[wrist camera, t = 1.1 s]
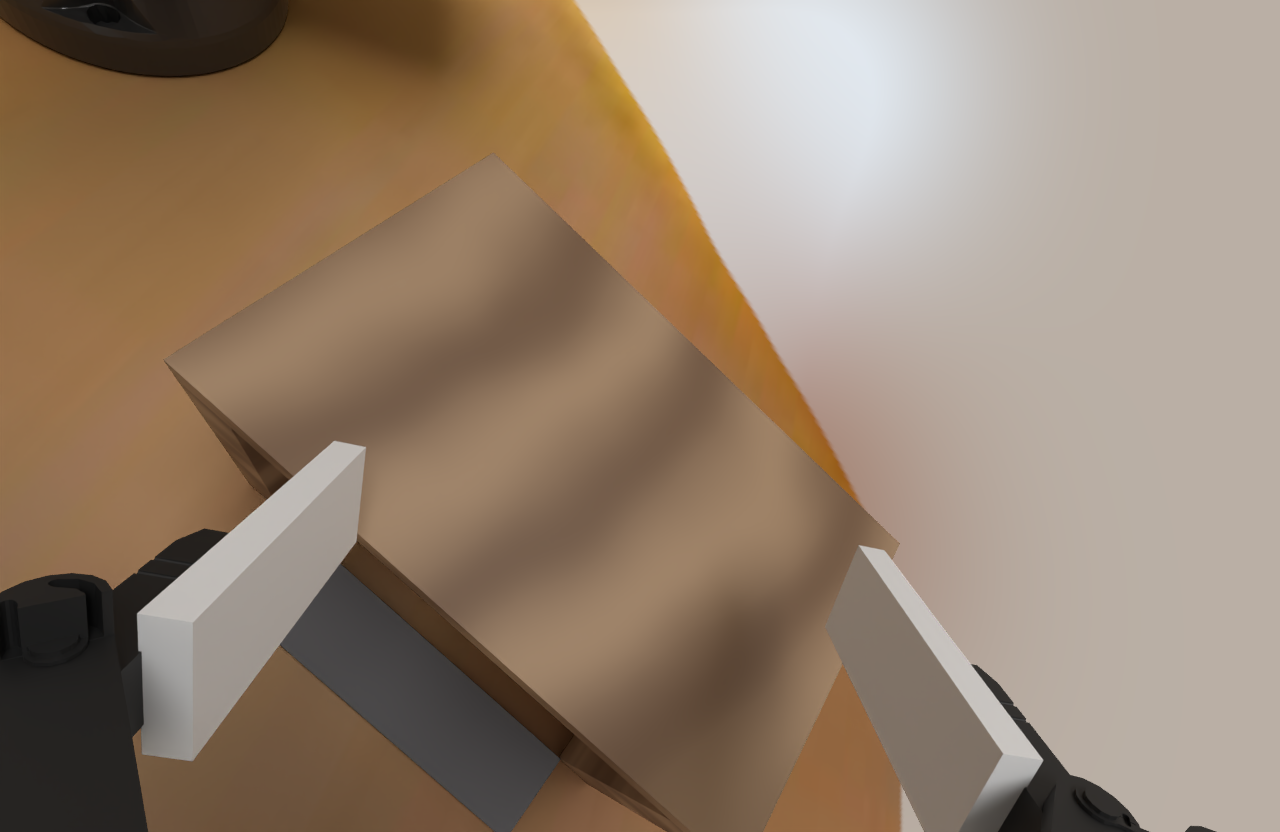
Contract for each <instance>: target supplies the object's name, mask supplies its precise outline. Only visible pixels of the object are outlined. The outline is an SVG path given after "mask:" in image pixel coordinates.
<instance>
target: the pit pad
mask: <svg viewBox="0 0 1280 832" xmlns="http://www.w3.org/2000/svg"><path fill="white" fill-rule="evenodd" d="M280 645H281V646H282V647H283V648H284V649H285V650H286V651H288V652H289V653H290V654H291V655H292V656H293V657H295V658H296V659H297V660H298V661H299V662H300V663H301V664H303V665H304V666H305V667H306V668H307V669H308V670H309V671H311V672H312V673H313V674H314V675H315V676H316V677H318V678H319V679H320V680H321V681H322V682H323V683H324V684H326V685H327V686H328V687H329V688H330V689H331V690H332V691H334V692H335V693H336V694H337V695H338V696H339V697H341V698H342V699H343V700H344V701H345V702H346V703H347V704H349V705H350V706H351V707H352V708H353V709H354V710H355V711H357V712H358V713H359V714H360V715H361V716H362V717H364V718H365V719H366V720H367V721H368V722H369V723H370V724H372V725H373V726H374V727H375V728H376V729H377V730H378V731H380V732H381V733H382V734H383V735H384V736H385V737H387V738H388V739H389V740H390V741H391V742H392V743H393V744H395V745H396V746H397V747H398V748H399V749H400V750H401V751H403V752H404V753H405V754H406V755H407V756H408V757H410V758H411V759H412V760H413V761H414V762H415V763H416V764H418V765H419V766H420V767H421V768H422V769H423V770H424V771H426V772H427V773H428V774H429V775H430V776H431V777H433V778H434V779H435V780H436V781H437V782H438V783H439V784H441V785H442V786H443V787H444V788H445V789H446V790H447V791H449V792H450V793H451V794H452V795H453V796H454V797H456V798H457V799H458V800H459V801H460V802H461V803H462V804H464V805H465V806H466V807H467V808H468V809H469V810H470V811H472V812H473V813H474V814H475V815H476V816H477V817H479V818H480V819H481V820H482V821H483V822H484V823H485V824H487V825H488V826H489V827H490V828H491V829H492V830H493V831H495V832H511V831H512V830H513V828H514V827H515V825H516V824H517V822H518V821H519V819H520V818H521V816H522V815H523V814H524V812H525V811H526V809H527V808H528V806H529V805H530V803H531V802H532V800H533V799H534V797H535V796H536V795H537V793H538V792H539V790H540V789H541V787H542V786H543V784H544V783H545V781H546V780H547V778H548V777H549V775H550V774H551V773H552V771H553V770H554V768H555V767H556V765H557V764H558V762H559V761H560V758H559V757H558V756H556V755H555V754H554V753H553V752H552V751H551V750H550V749H549V748H547V747H546V746H545V745H544V744H543V743H542V742H541V741H540V740H538V739H537V738H536V737H535V736H534V735H533V734H532V733H531V732H529V731H528V730H527V729H526V728H525V727H524V726H523V725H522V724H520V723H519V722H518V721H517V720H516V719H515V718H514V717H512V716H511V715H510V714H509V713H508V712H507V711H506V710H505V709H503V708H502V707H501V706H500V705H499V704H498V703H497V702H496V701H494V700H493V699H492V698H491V697H490V696H489V695H488V694H487V693H485V692H484V691H483V690H482V689H481V688H480V687H479V686H478V685H476V684H475V683H474V682H473V681H472V680H471V679H470V678H469V677H467V676H466V675H465V674H464V673H463V672H462V671H461V670H460V669H458V668H457V667H456V666H455V665H454V664H453V663H452V662H451V661H449V660H448V659H447V658H446V657H445V656H444V655H443V654H442V653H440V652H439V651H438V650H437V649H436V648H435V647H434V646H432V645H431V644H430V643H429V642H428V641H427V640H426V639H425V638H423V637H422V636H421V635H420V634H419V633H418V632H417V631H416V630H414V629H413V628H412V627H411V626H410V625H409V624H408V623H407V622H405V621H404V620H403V619H402V618H401V617H400V616H399V615H398V614H396V613H395V612H394V611H393V610H392V609H391V608H390V607H389V606H387V605H386V604H385V603H384V602H383V601H382V600H381V599H380V598H378V597H377V596H376V595H375V594H374V593H373V592H372V591H371V590H369V589H368V588H367V587H366V586H365V585H364V584H363V583H362V582H360V581H359V580H358V579H357V578H356V577H355V576H354V575H352V574H351V573H350V572H349V571H348V570H347V569H346V568H345V567H343V566H342V565H341V564H339V566H338V567H337V568H336V570H335V571H334V572H333V574H332V575H331V576H330V578H329V579H328V580H327V582H326V583H325V585H324V586H323V587H322V589H321V590H320V591H319V593H318V594H317V595H316V597H315V598H314V599H313V601H312V602H311V603H310V605H309V606H308V607H307V609H306V610H305V611H304V613H303V614H302V615H301V617H300V618H299V619H298V621H297V622H296V623H295V625H294V626H293V627H292V629H291V630H290V631H289V633H288V634H287V635H286V637H285V638H284V639H283V641H282V642H281V643H280Z"/></svg>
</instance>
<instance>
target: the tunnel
mask: <svg viewBox="0 0 1280 832" xmlns="http://www.w3.org/2000/svg"><path fill="white" fill-rule="evenodd" d="M164 361H165V363H166V364H167V366H168V367H169V369H170V370H171V371H172V373H173V374H174V376H175V377H176V379H177V380H178V382H179V383H180V384H181V386H182V387H183V389H184V390H185V392H186V393H187V394H188V396H189V397H190V399H191V400H192V402H193V403H194V405H195V406H196V407H197V409H198V410H199V412H200V413H201V415H202V416H203V417H204V419H205V420H206V422H207V423H208V425H209V426H210V428H211V429H212V430H213V432H214V433H215V435H216V436H217V438H218V439H219V440H220V442H221V443H222V445H223V446H224V448H225V449H226V451H227V452H228V453H229V455H230V456H231V458H232V459H233V461H234V462H235V464H236V465H237V466H238V468H239V469H240V471H241V472H242V474H243V475H244V476H245V478H246V479H247V481H248V482H249V484H250V485H251V486H252V487H254V488H255V489H256V490H257V491H258V492H259V493H260V494H261V495H263V496H264V497H265V498H266V499H268V498H270V497H271V496H272V495H273V494H274V493H275V492H276V491H278V490H279V489H280V488H281V487H282V486H283V485H284V484H286V483H287V482H288V481H289V480H290V479H291V478H292V477H294V476H295V475H296V474H297V473H298V472H299V471H300V470H302V469H303V468H304V467H305V466H306V465H307V464H308V463H310V462H311V461H312V460H313V459H314V458H315V457H316V456H318V455H319V454H320V453H321V452H322V451H323V450H324V449H325V448H327V447H328V446H329V445H330V444H331V443H332V442H333V441H338V442H343V443H348V444H353V445H358V446H363V447H366V452H365V462H364V472H363V482H362V492H361V501H360V511H359V521H358V531H357V541H358V542H359V543H360V544H361V545H363V546H364V547H365V548H366V549H367V550H368V551H369V552H370V553H372V554H373V555H374V556H375V557H376V558H377V559H378V560H379V561H381V562H382V563H383V564H384V565H385V566H386V567H387V568H388V569H389V570H391V571H392V572H393V573H394V574H395V575H396V576H397V577H398V578H400V579H401V580H402V581H403V582H404V583H405V584H406V585H407V586H409V587H410V588H411V589H412V590H413V591H414V592H415V593H416V594H417V595H419V596H420V597H421V598H422V599H423V600H424V601H425V602H426V603H428V604H429V605H430V606H431V607H432V608H433V609H434V610H435V611H437V612H438V613H439V614H440V615H441V616H442V617H443V618H444V619H445V620H447V621H448V622H449V623H450V624H451V625H452V626H453V627H454V628H456V629H457V630H458V631H459V632H460V633H461V634H462V635H463V636H465V637H466V638H467V639H468V640H469V641H470V642H471V643H472V644H473V645H475V646H476V647H477V648H478V649H479V650H480V651H481V652H482V653H484V654H485V655H486V656H487V657H488V658H489V659H490V660H491V661H493V662H494V663H495V664H496V665H497V666H498V667H499V668H500V669H502V670H503V671H504V672H505V673H506V674H507V675H508V676H509V677H510V678H512V679H513V680H514V681H515V682H516V683H517V684H518V685H519V686H521V687H522V688H523V689H524V690H525V691H526V692H527V693H528V694H530V695H531V696H532V697H533V698H534V699H535V700H536V701H537V702H538V703H540V704H541V705H542V706H543V707H544V708H545V709H546V710H547V711H549V712H550V713H551V714H552V715H553V716H554V717H555V718H556V719H558V720H559V721H560V722H561V723H562V724H563V725H564V726H565V727H566V728H568V729H569V730H570V731H571V732H572V733H573V734H574V736H573V737H572V739H571V740H570V742H569V743H568V745H567V746H566V748H565V749H564V751H563V752H562V753H561V755H560V756H559V758H560V760H561V761H562V762H564V763H565V764H566V765H567V766H568V767H569V768H570V769H571V770H573V771H574V772H575V773H576V774H577V775H578V776H579V777H580V778H582V779H583V780H584V781H585V782H586V783H587V784H588V785H590V786H592V787H593V788H595V789H597V790H598V791H600V792H602V793H603V794H605V795H607V796H608V797H610V798H612V799H613V800H615V801H617V802H618V803H620V804H622V805H623V806H625V807H627V808H628V809H630V810H632V811H633V812H635V813H637V814H638V815H640V816H642V817H643V818H645V819H647V820H648V821H650V822H652V823H653V824H655V825H657V826H658V827H660V828H662V829H663V830H665V831H667V832H763V831H764V828H765V826H766V824H767V822H768V820H769V818H770V816H771V814H772V812H773V810H774V807H775V805H776V803H777V801H778V799H779V797H780V795H781V793H782V791H783V788H784V786H785V784H786V782H787V780H788V778H789V776H790V774H791V772H792V769H793V767H794V765H795V763H796V761H797V759H798V757H799V755H800V753H801V751H802V748H803V746H804V744H805V742H806V740H807V738H808V736H809V734H810V732H811V729H812V727H813V725H814V723H815V721H816V719H817V717H818V715H819V713H820V710H821V708H822V706H823V704H824V702H825V700H826V698H827V696H828V694H829V692H830V689H831V687H832V685H833V683H834V681H835V679H836V677H837V675H838V673H839V670H840V668H841V666H842V664H843V663H842V661H841V659H840V657H839V655H838V653H837V651H836V649H835V647H834V645H833V642H832V640H831V638H830V636H829V634H828V632H827V630H826V628H825V625H826V623H827V621H828V618H829V616H830V613H831V611H832V608H833V606H834V604H835V601H836V599H837V596H838V594H839V591H840V589H841V587H842V584H843V582H844V579H845V577H846V574H847V572H848V570H849V567H850V565H851V562H852V560H853V557H854V555H855V553H856V550H857V548H858V545H860V546H865V547H870V548H875V549H880V550H885V552H886V553H887V554H888V556H889V557H890V558H891V559H893V557H894V555H895V552H896V550H897V548H898V546H899V544H900V543H899V542H897V540H895V539H894V538H893V537H892V536H891V535H890V534H889V533H888V532H887V531H886V530H885V529H884V528H883V527H882V526H881V525H880V524H879V523H877V521H876V520H874V518H873V517H872V516H871V515H870V514H868V513H867V512H866V511H865V510H864V509H863V508H862V507H861V506H860V505H859V504H858V503H857V502H856V501H855V500H854V499H853V498H852V497H851V496H850V495H849V494H848V493H847V492H846V491H845V490H844V489H842V488H841V487H840V486H839V485H838V484H837V483H836V482H835V481H834V480H833V479H832V478H831V477H830V476H829V475H828V474H827V473H826V472H825V471H824V470H823V469H822V468H821V467H820V466H819V465H818V464H817V463H815V462H814V461H813V460H812V459H811V458H810V457H809V456H808V455H807V454H806V453H805V452H804V451H803V450H802V449H801V448H800V447H799V446H798V445H797V444H796V443H795V442H794V441H793V440H792V439H791V438H790V437H788V436H787V435H786V434H785V433H784V432H783V431H782V430H781V429H780V428H779V427H778V426H777V425H776V424H775V423H774V422H773V421H772V420H771V419H770V418H769V417H768V416H767V415H766V414H765V413H764V412H762V411H761V410H760V409H759V408H758V407H757V406H756V405H755V404H754V403H753V402H752V401H751V400H750V399H749V398H748V397H747V396H746V395H745V394H744V393H743V392H742V391H741V390H740V389H739V388H738V387H737V386H735V385H734V384H733V383H732V382H731V381H730V380H729V379H728V378H727V377H726V376H725V375H724V374H723V373H722V372H721V371H720V370H719V369H718V368H717V367H716V366H715V365H714V364H713V363H712V362H711V361H709V360H708V359H707V358H706V357H705V356H704V355H703V354H702V353H701V352H700V351H699V350H698V349H697V348H696V347H695V346H694V345H693V344H692V343H691V342H690V341H689V340H688V339H687V338H686V337H685V336H684V335H682V334H681V333H680V332H679V331H678V330H677V329H676V328H675V327H674V326H673V325H672V324H671V323H670V322H669V321H668V320H667V319H666V318H665V317H664V316H663V315H662V314H661V313H660V312H659V311H658V310H657V309H655V308H654V307H653V306H652V305H651V304H650V303H649V302H648V301H647V300H646V299H645V298H644V297H643V296H642V295H641V294H640V293H639V292H638V291H637V290H636V289H635V288H634V287H633V286H632V285H631V284H629V283H628V282H627V281H626V280H625V279H624V278H623V277H622V276H621V275H620V274H619V273H618V272H617V271H616V270H615V269H614V268H613V267H612V266H611V265H610V264H609V263H608V262H607V261H606V260H605V259H604V258H602V257H601V256H600V255H599V254H598V253H597V252H596V251H595V250H594V249H593V248H592V247H591V246H590V245H589V244H588V243H587V242H586V241H585V240H584V239H583V238H582V237H581V236H580V235H579V234H578V233H576V232H575V231H574V230H573V229H572V228H571V227H570V226H569V225H568V224H567V223H566V222H565V221H564V220H563V219H562V218H561V217H560V216H559V215H558V214H557V213H556V212H555V211H554V210H553V209H552V208H551V207H549V206H548V205H547V204H546V203H545V202H544V201H543V200H542V199H541V198H540V197H539V196H538V195H537V194H536V193H535V192H534V191H533V190H532V189H531V188H530V187H529V186H528V185H527V184H526V183H525V182H524V181H522V180H521V179H520V178H519V177H518V176H517V175H516V174H515V173H514V172H513V171H512V170H511V169H510V168H509V167H508V166H507V165H506V164H505V163H504V162H503V161H502V160H501V159H500V158H499V157H498V156H496V155H495V154H494V153H492V154H490V155H489V156H487V157H486V158H484V159H482V160H481V161H479V162H478V163H476V164H474V165H473V166H471V167H470V168H468V169H466V170H465V171H463V172H462V173H460V174H458V175H457V176H455V177H454V178H452V179H450V180H449V181H447V182H446V183H444V184H443V185H441V186H439V187H438V188H436V189H435V190H433V191H431V192H430V193H428V194H427V195H425V196H423V197H422V198H420V199H419V200H417V201H415V202H414V203H412V204H411V205H409V206H407V207H406V208H404V209H403V210H401V211H399V212H398V213H396V214H395V215H393V216H392V217H390V218H388V219H387V220H385V221H384V222H382V223H380V224H379V225H377V226H376V227H374V228H372V229H371V230H369V231H368V232H366V233H364V234H363V235H361V236H360V237H358V238H356V239H355V240H353V241H352V242H350V243H348V244H347V245H345V246H344V247H342V248H341V249H339V250H337V251H336V252H334V253H333V254H331V255H329V256H328V257H326V258H325V259H323V260H321V261H320V262H318V263H317V264H315V265H313V266H312V267H310V268H309V269H307V270H305V271H304V272H302V273H301V274H299V275H297V276H296V277H294V278H293V279H291V280H290V281H288V282H286V283H285V284H283V285H282V286H280V287H278V288H277V289H275V290H274V291H272V292H270V293H269V294H267V295H266V296H264V297H262V298H261V299H259V300H258V301H256V302H254V303H253V304H251V305H250V306H248V307H246V308H245V309H243V310H242V311H240V312H239V313H237V314H235V315H234V316H232V317H231V318H229V319H227V320H226V321H224V322H223V323H221V324H219V325H218V326H216V327H215V328H213V329H211V330H210V331H208V332H207V333H205V334H203V335H202V336H200V337H199V338H197V339H195V340H194V341H192V342H191V343H189V344H188V345H186V346H184V347H183V348H181V349H180V350H178V351H176V352H175V353H173V354H172V355H170V356H168V357H167V358H165V359H164Z"/></svg>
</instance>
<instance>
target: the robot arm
mask: <svg viewBox="0 0 1280 832" xmlns="http://www.w3.org/2000/svg"><path fill="white" fill-rule="evenodd" d="M287 13H288V0H0V17H1V18H2V19H4V20H5V21H6V22H8V23H9V24H10V25H12V26H13V27H14V28H16V29H17V30H19V31H20V32H22V33H23V34H25V35H27V36H28V37H30V38H32V39H33V40H35V41H37V42H39V43H41V44H43V45H45V46H47V47H49V48H51V49H53V50H55V51H58V52H60V53H62V54H65V55H67V56H70V57H72V58H75V59H78V60H81V61H84V62H87V63H90V64H94V65H97V66H101V67H105V68H109V69H113V70H118V71H123V72H130V73H136V74H145V75H159V76H183V75H196V74H203V73H210V72H214V71H219V70H223V69H226V68H230V67H232V66H235V65H238V64H240V63H242V62H245V61H247V60H249V59H251V58H252V57H254V56H256V55H257V54H259V53H260V52H262V51H263V50H264V49H266V48H267V47H268V46H269V45H270V44H271V43H272V42H273V41H274V40H275V38H276V37H277V36H278V34H279V33H280V31H281V30H282V28H283V25H284V23H285V20H286V17H287ZM365 452H366V447H363V446H358V445H353V444H348V443H343V442H338V441H333V442H332V443H331V444H330V445H329V446H328V447H327V448H325V449H324V450H323V451H322V452H321V453H320V454H319V455H318V456H316V457H315V458H314V459H313V460H312V461H311V462H310V463H308V464H307V465H306V466H305V467H304V468H303V469H302V470H300V471H299V472H298V473H297V474H296V475H295V476H294V477H292V478H291V479H290V480H289V481H288V482H287V483H286V484H284V485H283V486H282V487H281V488H280V489H279V490H278V491H276V492H275V493H274V494H273V495H272V496H271V497H270V498H268V499H267V500H266V501H265V502H264V503H263V504H262V505H260V506H259V507H258V508H257V509H256V510H255V511H254V512H252V513H251V514H250V515H249V516H248V517H247V518H246V519H244V520H243V521H242V522H241V523H240V524H239V525H238V526H236V527H235V528H234V529H233V530H232V531H231V532H230V533H226V532H220V531H215V530H209V529H202V530H200V531H198V532H195V533H193V534H190V535H188V536H186V537H183V538H181V539H178V540H176V541H175V542H173V543H172V544H171V545H169V546H168V547H167V548H166V549H164V550H163V551H162V552H161V553H159V554H158V555H157V556H156V557H155V559H154V560H150V561H149V562H148V563H147V564H145V565H144V566H143V567H142V568H140V569H139V570H138V573H137V574H135V573H134V574H133V575H131V576H130V577H129V578H128V579H126V580H125V581H124V582H122V583H121V584H120V585H119V586H117V587H116V588H115V589H114V590H112V589H111V587H110V586H109V584H108V583H107V581H105V580H103V579H100V578H98V577H95V576H93V575H84V574H74V573H70V574H60V575H49V576H45V577H41V578H37V579H33V580H29V581H25V582H23V583H20V584H18V585H16V586H14V587H11V588H9V589H7V590H5V591H3V592H1V593H0V832H148V829H147V823H146V817H145V811H144V805H143V799H142V793H141V787H140V781H139V776H138V770H137V764H136V758H135V752H134V746H133V740H132V737H133V736H134V735H135V734H136V733H137V731H138V730H139V729H140V728H141V743H142V754H143V755H150V756H157V757H165V758H172V759H179V760H186V761H193V760H194V759H195V757H196V756H197V755H198V753H199V752H200V751H201V749H202V748H203V747H204V745H205V744H206V743H207V741H208V740H209V739H210V737H211V736H212V735H213V733H214V732H215V731H216V729H217V728H218V727H219V725H220V724H221V723H222V721H223V720H224V719H225V717H226V716H227V715H228V713H229V712H230V711H231V709H232V708H233V706H234V705H235V704H236V702H237V701H238V700H239V698H240V697H241V696H242V694H243V693H244V692H245V690H246V689H247V688H248V686H249V685H250V684H251V682H252V681H253V680H254V678H255V677H256V676H257V674H258V673H259V672H260V670H261V669H262V668H263V666H264V665H265V664H266V662H267V661H268V660H269V658H270V657H271V656H272V654H273V653H274V652H275V650H276V649H277V648H278V646H279V645H280V643H281V642H282V641H283V639H284V638H285V637H286V635H287V634H288V633H289V631H290V630H291V629H292V627H293V626H294V625H295V623H296V622H297V621H298V619H299V618H300V617H301V615H302V614H303V613H304V611H305V610H306V609H307V607H308V606H309V605H310V603H311V602H312V601H313V599H314V598H315V597H316V595H317V594H318V593H319V591H320V590H321V589H322V587H323V586H324V585H325V583H326V582H327V580H328V579H329V578H330V576H331V575H332V574H333V572H334V571H335V570H336V568H337V567H338V566H339V564H340V563H341V562H342V560H343V559H344V558H345V556H346V555H347V554H348V552H349V551H350V550H351V548H352V547H353V546H354V544H355V543H356V540H357V531H358V521H359V511H360V501H361V492H362V482H363V472H364V462H365ZM825 628H826V630H827V632H828V634H829V636H830V638H831V640H832V642H833V645H834V647H835V649H836V651H837V653H838V655H839V657H840V659H841V661H842V663H843V665H844V667H845V669H846V671H847V673H848V675H849V678H850V680H851V682H852V684H853V686H854V688H855V690H856V692H857V694H858V696H859V698H860V700H861V702H862V704H863V706H864V708H865V711H866V713H867V715H868V717H869V719H870V721H871V723H872V725H873V727H874V729H875V731H876V733H877V735H878V737H879V739H880V741H881V744H882V746H883V748H884V750H885V752H886V754H887V756H888V758H889V760H890V762H891V764H892V766H893V768H894V770H895V772H896V774H897V777H898V779H899V781H900V783H901V785H902V787H903V789H904V791H905V793H906V795H907V797H908V799H909V801H910V803H911V805H912V807H913V810H914V812H915V813H916V816H917V818H918V820H919V822H920V824H921V826H922V828H923V830H924V832H1149V831H1146V830H1144V829H1141V828H1140V827H1139V824H1138V823H1137V821H1136V820H1135V819H1134V817H1133V816H1132V815H1131V813H1130V812H1129V811H1128V810H1127V809H1126V808H1125V807H1124V806H1123V805H1122V804H1121V803H1120V802H1119V801H1118V800H1117V799H1116V798H1114V797H1113V796H1112V795H1110V794H1109V793H1108V792H1106V791H1105V790H1103V789H1102V788H1101V787H1099V786H1097V785H1095V784H1093V783H1091V782H1089V781H1087V780H1085V779H1083V778H1080V777H1076V776H1072V775H1070V774H1069V773H1068V772H1067V771H1066V770H1065V768H1064V767H1063V766H1062V764H1061V763H1060V762H1059V760H1058V759H1057V758H1056V757H1055V755H1054V754H1053V753H1052V752H1051V750H1050V749H1049V748H1048V746H1047V745H1046V744H1045V743H1044V741H1043V740H1042V739H1041V737H1040V736H1039V735H1038V734H1037V733H1036V731H1035V730H1034V728H1033V727H1032V726H1031V725H1030V723H1027V722H1026V718H1025V717H1024V716H1023V715H1022V713H1021V712H1020V711H1019V709H1018V708H1017V707H1015V706H1013V702H1012V700H1011V699H1010V698H1009V697H1008V695H1007V694H1006V693H1005V692H1004V691H1003V689H1002V688H1001V686H1000V685H999V684H998V683H997V682H996V681H995V680H993V679H992V678H991V677H990V676H989V675H988V674H987V673H985V672H984V671H983V670H982V669H980V668H979V667H978V666H977V665H972V664H970V663H969V661H968V660H967V659H966V657H965V656H964V655H963V653H962V652H961V651H960V650H959V648H958V647H957V645H956V644H955V643H954V641H953V640H952V639H951V637H950V636H949V635H948V633H947V632H946V631H945V630H944V629H943V627H942V626H941V624H940V623H939V622H938V620H937V619H936V618H935V616H934V615H933V614H932V613H931V611H930V610H929V608H928V607H927V606H926V604H925V603H924V602H923V600H922V599H921V598H920V596H919V595H918V594H917V593H916V591H915V590H914V589H913V587H912V586H911V585H910V583H909V582H908V581H907V579H906V578H905V577H904V575H903V574H902V573H901V571H900V570H899V569H898V567H897V566H896V565H895V563H894V562H893V561H892V559H891V558H890V557H889V556H888V554H887V553H886V552H885V550H880V549H875V548H870V547H865V546H860V545H858V548H857V550H856V553H855V555H854V557H853V560H852V562H851V565H850V567H849V570H848V572H847V574H846V577H845V579H844V582H843V584H842V587H841V589H840V591H839V594H838V596H837V599H836V601H835V604H834V606H833V608H832V611H831V613H830V616H829V618H828V621H827V623H826V625H825ZM1185 832H1215V831H1213V830H1210V829H1207V828H1204V827H1202V826H1190V827H1189V828H1188V829H1187V830H1186V831H1185Z"/></svg>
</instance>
